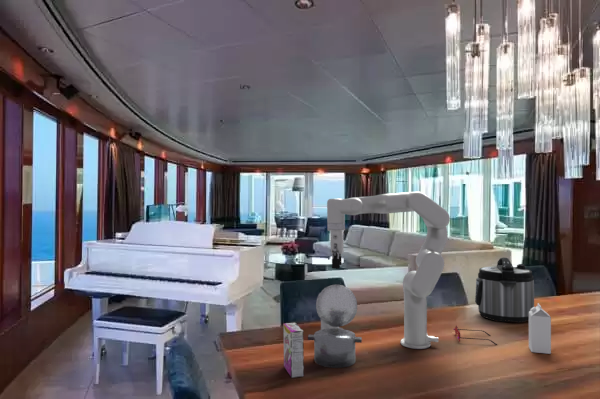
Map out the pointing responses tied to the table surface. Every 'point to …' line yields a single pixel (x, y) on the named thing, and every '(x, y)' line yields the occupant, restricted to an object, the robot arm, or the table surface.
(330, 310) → the lid
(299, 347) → the candy bar box
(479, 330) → the glasses
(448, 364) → the table surface
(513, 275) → the pressure cooker
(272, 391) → the table surface
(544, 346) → the milk carton
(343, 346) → the pot
